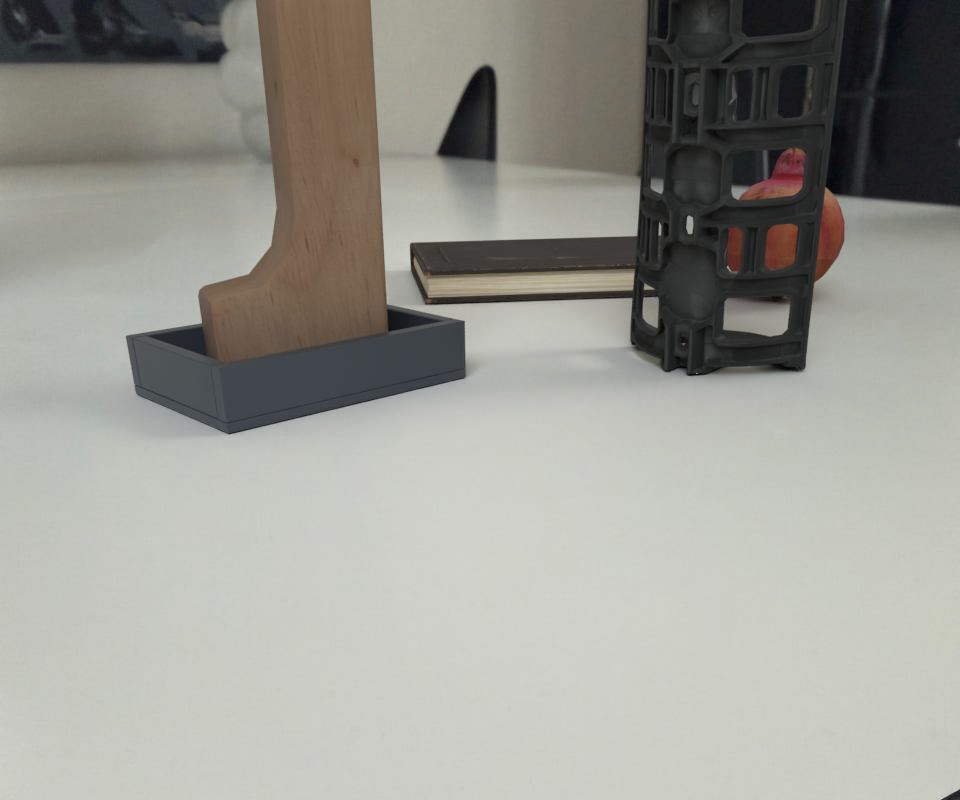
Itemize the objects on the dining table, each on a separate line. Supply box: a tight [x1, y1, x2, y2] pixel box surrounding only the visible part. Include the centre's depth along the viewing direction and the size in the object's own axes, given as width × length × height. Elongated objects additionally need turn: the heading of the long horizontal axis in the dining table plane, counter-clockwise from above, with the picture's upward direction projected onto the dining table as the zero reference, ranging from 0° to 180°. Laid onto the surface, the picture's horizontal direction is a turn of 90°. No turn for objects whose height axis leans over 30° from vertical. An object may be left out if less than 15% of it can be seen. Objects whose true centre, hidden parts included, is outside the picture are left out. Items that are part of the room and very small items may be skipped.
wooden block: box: [197, 0, 388, 363], centre depth 49 cm, size 9×4×18 cm, turn 111°
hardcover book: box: [409, 234, 728, 305], centre depth 81 cm, size 16×23×2 cm
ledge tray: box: [125, 303, 467, 434], centre depth 53 cm, size 10×15×3 cm, turn 132°
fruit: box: [727, 148, 845, 302], centre depth 71 cm, size 8×8×10 cm
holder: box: [629, 0, 848, 375], centre depth 52 cm, size 11×8×20 cm
